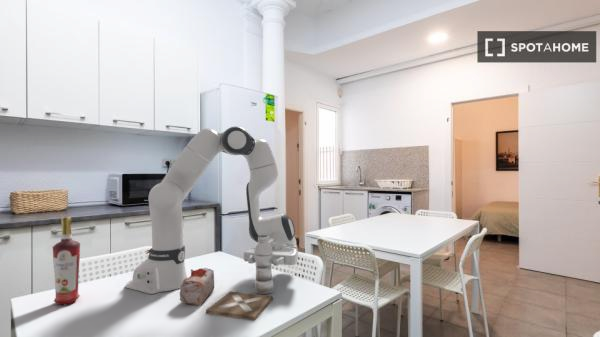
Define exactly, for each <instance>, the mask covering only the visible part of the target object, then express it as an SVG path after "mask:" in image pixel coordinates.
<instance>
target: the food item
mask: <svg viewBox="0 0 600 337" xmlns="http://www.w3.org/2000/svg"><path fill="white" fill-rule="evenodd" d="M214 272H215V271H214V269H213V270H212V269H211V268H207V267H202V268H198V269H195V270H194V269H190V276H187V277H186V278H185V279H184V280H183V283H182V284H181V287H180V288H179V300H180V302H181V303H183V304H187V305H193V306H201V305H202V304H203V303H204V301H205V300H206V299H207V298H208V297H209V296H210V294H211V293H213V291H214V290H215V274H214Z"/></svg>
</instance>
